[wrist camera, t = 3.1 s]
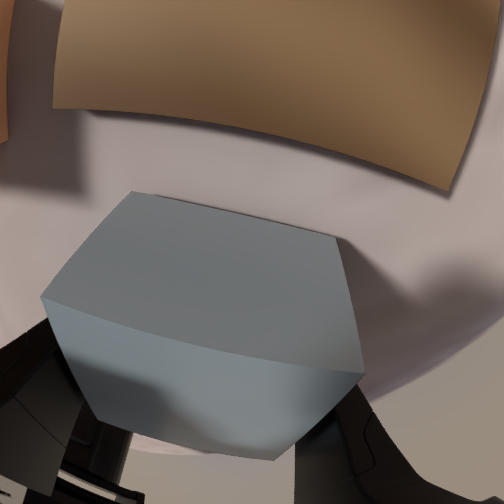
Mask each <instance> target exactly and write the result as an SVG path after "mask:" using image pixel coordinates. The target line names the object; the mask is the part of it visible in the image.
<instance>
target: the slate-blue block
mask: <svg viewBox="0 0 504 504" xmlns="http://www.w3.org/2000/svg"><path fill="white" fill-rule="evenodd" d="M40 297H41V300H42V303H43V305H44V308H45V311H46V314H47V316H48V319H49V322H50V324H51V327H52V329H53V332H54V334H55V336H56V339H57V341H58V344H59V346H60V348H61V350H62V353H63V355H64V357H65V359H66V361H67V363H68V366H69V368H70V370H71V372H72V374H73V376H74V378H75V380H76V382H77V384H78V386H79V387H80V389H81V391H82V393H83V395H84V397H85V399H86V400H87V402H88V404H89V406H90V407H91V409H92V411H93V413H94V414H95V416H96V418H97V419H98V420H100V421H103V422H105V423H108V424H111V425H113V426H116V427H119V428H122V429H125V430H128V431H131V432H134V433H137V434H140V435H144V436H147V437H151V438H154V439H158V440H161V441H165V442H169V443H173V444H177V445H181V446H185V447H190V448H194V449H199V450H204V451H209V452H214V453H220V454H226V455H232V456H238V457H246V458H253V459H263V460H272V461H274V460H275V459H277V458H278V457H279V456H280V455H282V454H283V453H284V452H285V451H286V450H288V449H289V448H290V447H291V446H292V445H293V444H295V443H296V442H297V441H298V440H299V439H300V438H301V437H303V436H304V435H305V434H306V433H307V432H308V431H309V430H310V429H311V428H313V427H314V426H315V425H316V424H317V423H318V422H319V421H320V420H321V419H322V418H323V417H324V416H325V415H326V414H327V413H328V412H329V411H330V410H331V409H332V408H333V407H334V406H335V405H336V404H337V403H338V402H339V401H340V400H341V399H342V398H343V397H344V396H345V395H346V394H347V393H348V392H349V391H350V390H351V389H352V388H353V387H354V386H355V385H356V384H357V382H358V381H359V380H360V379H361V378H362V377H363V376H364V375H365V374H366V372H365V366H364V360H363V355H362V349H361V344H360V339H359V334H358V329H357V324H356V320H355V315H354V310H353V306H352V301H351V297H350V293H349V288H348V284H347V280H346V276H345V272H344V268H343V264H342V260H341V256H340V252H339V249H338V245H337V241H336V238H335V237H332V236H328V235H324V234H320V233H316V232H312V231H308V230H304V229H300V228H296V227H292V226H288V225H284V224H280V223H276V222H272V221H267V220H263V219H259V218H255V217H250V216H246V215H242V214H237V213H233V212H228V211H224V210H219V209H215V208H210V207H206V206H201V205H197V204H192V203H187V202H183V201H178V200H173V199H168V198H163V197H159V196H154V195H149V194H144V193H139V192H134V191H131V192H130V193H129V194H128V195H127V196H126V197H125V198H124V199H123V200H122V201H121V202H120V203H119V204H118V206H117V207H116V208H115V209H114V210H113V211H112V212H111V213H110V214H109V215H108V216H107V217H106V218H105V219H104V220H103V221H102V222H101V224H100V225H99V226H98V227H97V228H96V229H95V230H94V231H93V232H92V234H91V235H90V236H89V237H88V238H87V239H86V240H85V241H84V243H83V244H82V245H81V246H80V247H79V248H78V250H77V251H76V252H75V253H74V254H73V256H72V257H71V258H70V259H69V260H68V262H67V263H66V264H65V265H64V266H63V268H62V269H61V270H60V271H59V273H58V274H57V275H56V276H55V278H54V279H53V280H52V282H51V283H50V284H49V286H48V287H47V288H46V289H45V291H44V292H43V293H42V295H41V296H40Z"/></svg>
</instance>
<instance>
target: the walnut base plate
mask: <svg viewBox="0 0 504 504" xmlns="http://www.w3.org/2000/svg"><path fill="white" fill-rule="evenodd" d="M500 3H501V0H65V2H64V7H63V12H62V17H61V23H60V29H59V35H58V42H57V50H56V59H55V70H54V83H53V106H52V109H89V110H109V111H123V112H135V113H146V114H155V115H164V116H172V117H179V118H187V119H193V120H200V121H206V122H212V123H218V124H223V125H229V126H234V127H239V128H244V129H249V130H254V131H259V132H263V133H268V134H272V135H277V136H281V137H285V138H289V139H293V140H297V141H301V142H305V143H308V144H312V145H316V146H319V147H323V148H327V149H330V150H333V151H337V152H340V153H343V154H347V155H350V156H353V157H356V158H359V159H362V160H366V161H369V162H372V163H375V164H377V165H380V166H383V167H386V168H389V169H392V170H394V171H397V172H400V173H403V174H405V175H408V176H410V177H413V178H416V179H418V180H421V181H423V182H426V183H428V184H431V185H433V186H435V187H438V188H440V189H443V190H445V191H448V189H449V187H450V184H451V182H452V180H453V177H454V175H455V172H456V170H457V168H458V165H459V163H460V160H461V157H462V155H463V152H464V150H465V147H466V144H467V142H468V139H469V136H470V133H471V130H472V127H473V124H474V121H475V118H476V115H477V112H478V109H479V105H480V102H481V99H482V95H483V92H484V88H485V84H486V80H487V76H488V72H489V68H490V64H491V59H492V54H493V49H494V44H495V39H496V33H497V26H498V19H499V12H500Z"/></svg>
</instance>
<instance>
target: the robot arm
mask: <svg viewBox="0 0 504 504" xmlns="http://www.w3.org/2000/svg"><path fill="white" fill-rule="evenodd" d="M133 433H134V432H131V431H128V430H125V429H122V428H119V427H116V426H113V425H111V424H108V423H105V422H103V421H100V420H98V419H97V418H96V416H95V414H94V413H93V411H92V409H91V407H90V406H89V404H88V402H87V400H86V399H85V397H84V395H83V393H82V391H81V389H80V387H79V386H78V384H77V382H76V380H75V378H74V376H73V374H72V372H71V370H70V368H69V366H68V363H67V361H66V359H65V357H64V355H63V353H62V350H61V348H60V346H59V344H58V341H57V339H56V336H55V334H54V332H53V329H52V327H51V324H50V322H49V319H48V317H47V318H46V319H44V320H43V321H41V322H40V323H38V324H37V325H35V326H34V327H32V328H31V329H30V330H28V331H27V333H26V332H25V333H24V334H22V335H21V336H19V337H18V338H16V339H15V340H13V341H12V342H10V343H9V344H7V345H6V346H4V347H3V348H1V349H0V504H144V499H145V494H144V493H141V492H138V491H131V490H128V489H125V488H122V487H120V486H119V482H120V479H121V475H122V471H123V468H124V464H125V461H126V457H127V454H128V450H129V447H130V443H131V440H132V437H133ZM58 471H61V472H63V473H65V474H67V475H69V476H71V477H73V478H75V479H77V480H79V481H81V482H83V483H86V484H88V485H90V486H93V487H95V488H97V489H100V490H102V491H105V492H107V493H110V494H113V495H116V499H115V501H113V500H111V499H108V498H105V497H103V496H100V495H98V494H95V493H93V492H90V491H88V490H86V489H83V488H81V487H79V486H77V485H74V484H72V483H70V482H68V481H66V480H64V479H62V478H60V477H58V476H57V475H58ZM294 500H295V501H294V504H504V501H503V500H501V499H500V498H498V497H496V496H493V497H490V498H488V499H485V500H483V501H473V500H469V499H466V498H464V497H462V496H459V495H457V494H454V493H452V492H449V491H447V490H445V489H442V488H440V487H438V486H436V485H433V484H431V483H429V482H427V481H426V480H424V479H423V478H422V477H420V476H419V475H418V474H417V473H416V471H415V470H414V469H413V468H412V466H411V465H410V464H409V462H408V461H407V460H406V458H405V457H404V456H403V454H402V453H401V452H400V450H399V449H398V448H397V446H396V445H395V444H394V442H393V441H392V439H391V438H390V437H389V435H388V434H387V432H386V431H385V429H384V427H383V426H382V424H381V423H380V421H379V419H378V418H377V416H376V414H375V413H374V412H372V408H371V406H370V405H369V403H368V401H367V400H366V398H365V396H364V395H363V393H362V391H361V390H360V388H359V386H358V385H357V384H356V385H355V386H354V387H353V388H352V389H351V390H350V391H349V392H348V393H347V394H346V395H345V396H344V397H343V398H342V399H341V400H340V401H339V402H338V403H337V404H336V405H335V406H334V407H333V408H332V409H331V410H330V411H329V412H328V413H327V414H326V415H325V416H324V417H323V418H322V419H321V420H320V421H319V422H318V423H317V424H316V425H315V426H314V427H313V428H311V429H310V430H309V431H308V432H307V433H306V434H305V435H304V436H303V437H301V438H300V439H299V440H298V441H297V442H296V443H295V489H294Z"/></svg>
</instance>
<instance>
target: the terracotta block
mask: <svg viewBox="0 0 504 504" xmlns="http://www.w3.org/2000/svg"><path fill="white" fill-rule="evenodd" d="M14 3H15V0H0V144H1V143H3V142H5V141H7V140H9V138H8V125H7V98H6V85H7V59H8V46H9V37H10V28H11V21H12V15H13V9H14Z"/></svg>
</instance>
